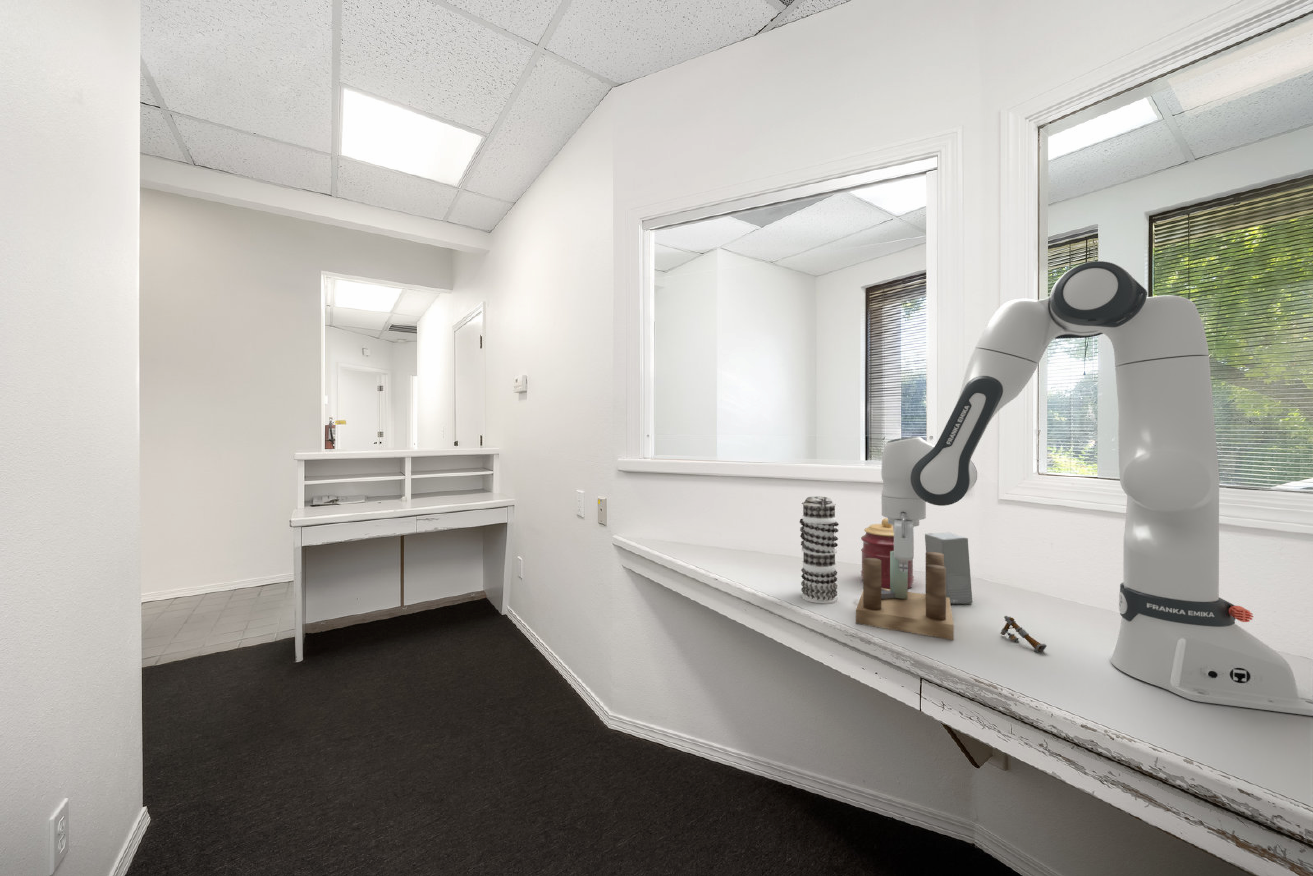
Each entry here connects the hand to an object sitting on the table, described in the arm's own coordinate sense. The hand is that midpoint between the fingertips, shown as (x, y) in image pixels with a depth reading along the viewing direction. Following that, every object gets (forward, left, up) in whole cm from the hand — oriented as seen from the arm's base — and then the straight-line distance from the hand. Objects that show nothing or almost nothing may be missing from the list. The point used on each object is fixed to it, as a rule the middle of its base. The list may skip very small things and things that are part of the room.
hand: (903, 570), depth 109 cm
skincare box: (-9, -17, -10) cm, 22 cm away
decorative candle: (+19, -3, -10) cm, 22 cm away
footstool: (0, +1, -10) cm, 10 cm away
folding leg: (+3, -1, -7) cm, 8 cm away
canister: (+5, -24, -10) cm, 27 cm away
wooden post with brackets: (-20, +6, -10) cm, 24 cm away
